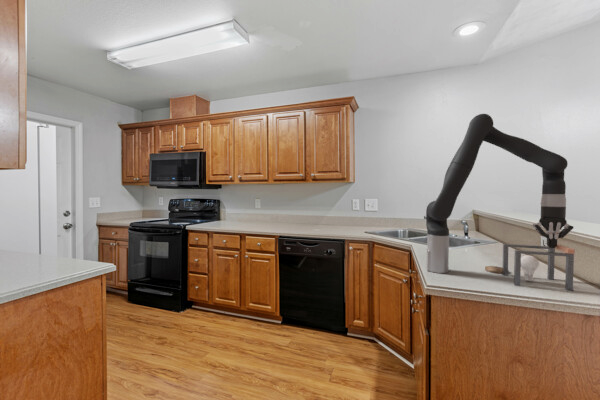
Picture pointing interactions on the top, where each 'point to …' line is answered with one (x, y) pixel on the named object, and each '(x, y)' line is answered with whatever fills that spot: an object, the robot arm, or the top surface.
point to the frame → (550, 253)
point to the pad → (494, 269)
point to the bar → (565, 249)
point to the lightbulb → (529, 266)
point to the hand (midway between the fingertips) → (551, 247)
